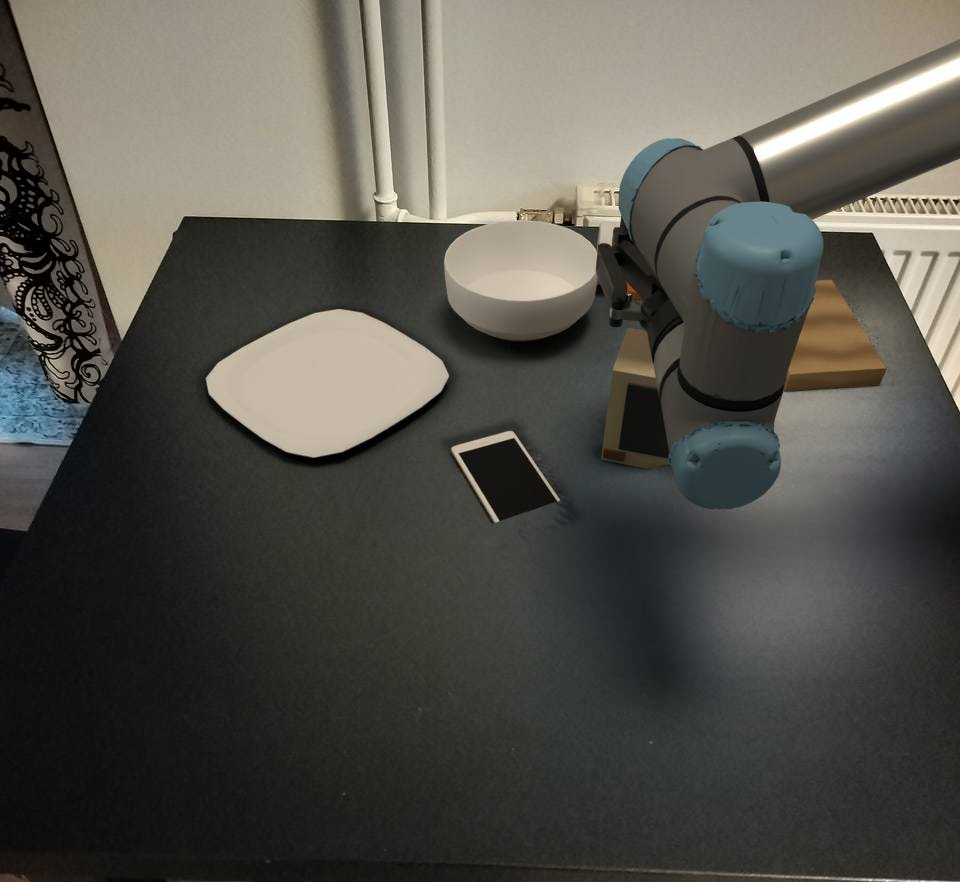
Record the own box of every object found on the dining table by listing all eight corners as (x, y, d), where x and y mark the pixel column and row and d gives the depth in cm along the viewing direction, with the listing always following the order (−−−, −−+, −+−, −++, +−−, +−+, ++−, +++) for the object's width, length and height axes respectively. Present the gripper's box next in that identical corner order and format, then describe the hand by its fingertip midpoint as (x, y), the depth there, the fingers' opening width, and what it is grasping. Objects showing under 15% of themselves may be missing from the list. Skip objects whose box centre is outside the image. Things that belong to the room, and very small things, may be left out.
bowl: (623, 316, 119) (631, 255, 112) (526, 381, 110) (528, 320, 104) (514, 263, 127) (516, 205, 121) (416, 321, 119) (411, 260, 112)
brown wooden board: (880, 385, 109) (887, 367, 107) (784, 391, 108) (790, 374, 106) (826, 296, 121) (831, 279, 119) (740, 301, 121) (744, 284, 119)
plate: (184, 388, 110) (181, 376, 109) (342, 306, 121) (340, 294, 120) (312, 485, 99) (310, 473, 98) (473, 385, 110) (473, 373, 108)
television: (751, 442, 103) (777, 352, 93) (742, 489, 98) (769, 399, 88) (615, 417, 106) (627, 327, 96) (600, 461, 101) (611, 371, 91)
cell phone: (505, 543, 93) (505, 539, 92) (450, 451, 102) (449, 446, 101) (573, 523, 95) (573, 518, 94) (512, 433, 104) (512, 429, 103)
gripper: (573, 393, 76) (560, 253, 90) (809, 391, 75) (759, 251, 90) (579, 313, 70) (564, 177, 84) (836, 311, 70) (778, 175, 84)
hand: (665, 216), depth 87 cm, fingers closed on hat, 7 cm apart
